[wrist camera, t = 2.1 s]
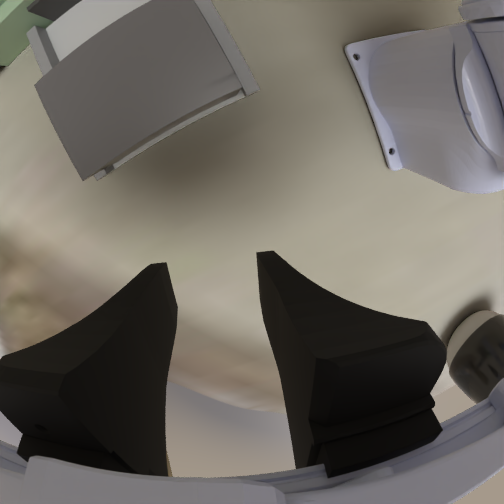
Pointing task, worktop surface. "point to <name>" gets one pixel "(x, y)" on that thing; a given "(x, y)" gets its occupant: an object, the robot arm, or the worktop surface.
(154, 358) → the robot arm
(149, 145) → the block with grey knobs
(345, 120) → the worktop surface
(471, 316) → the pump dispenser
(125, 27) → the grey open box
